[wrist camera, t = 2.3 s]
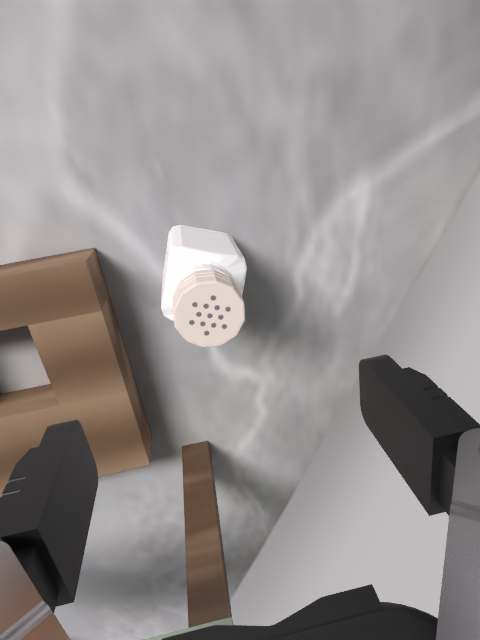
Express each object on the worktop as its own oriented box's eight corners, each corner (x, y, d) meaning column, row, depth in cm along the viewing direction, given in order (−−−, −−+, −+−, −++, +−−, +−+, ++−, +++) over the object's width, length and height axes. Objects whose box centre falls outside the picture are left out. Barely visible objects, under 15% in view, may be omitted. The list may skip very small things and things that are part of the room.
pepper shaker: (170, 221, 26) (170, 265, 17) (233, 232, 27) (264, 279, 18) (161, 282, 27) (157, 351, 19) (222, 291, 28) (244, 360, 20)
